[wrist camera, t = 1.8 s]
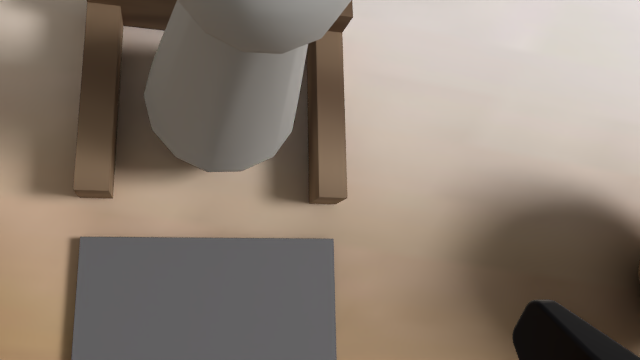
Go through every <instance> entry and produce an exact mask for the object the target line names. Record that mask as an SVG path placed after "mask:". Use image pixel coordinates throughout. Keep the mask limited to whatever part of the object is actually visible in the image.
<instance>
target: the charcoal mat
mask: <svg viewBox="0 0 640 360" xmlns="http://www.w3.org/2000/svg"><path fill="white" fill-rule="evenodd" d="M71 360H336V322H335V282H334V242H333V239H289V238H158V237H80V248H79V262H78V275H77V289H76V303H75V317H74V331H73V344H72V358H71Z"/></svg>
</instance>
